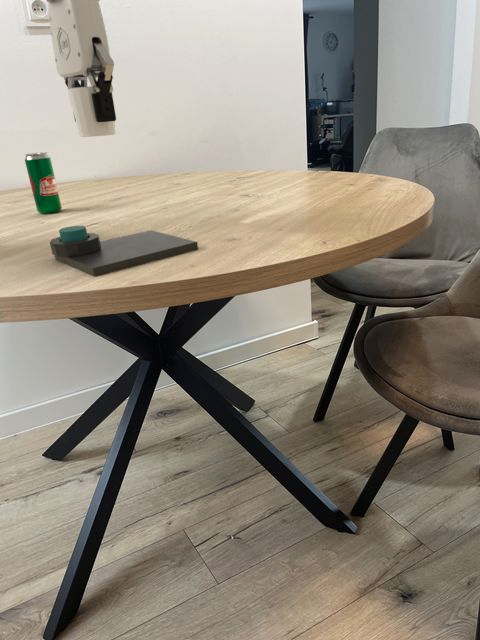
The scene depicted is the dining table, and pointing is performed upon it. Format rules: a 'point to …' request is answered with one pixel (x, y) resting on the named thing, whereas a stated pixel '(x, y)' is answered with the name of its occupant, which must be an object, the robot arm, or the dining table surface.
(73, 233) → the button
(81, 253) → the scale
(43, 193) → the soda can
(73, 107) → the white cup
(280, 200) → the dining table surface
